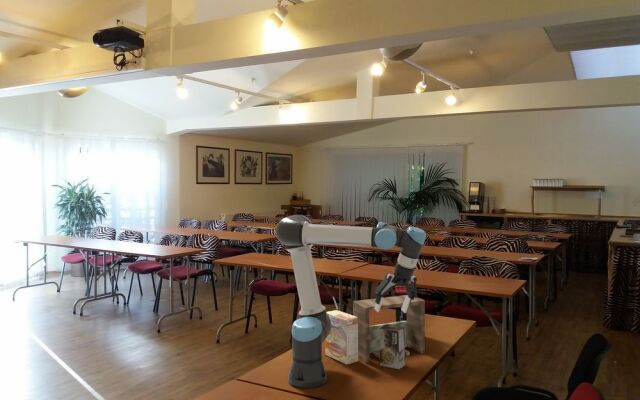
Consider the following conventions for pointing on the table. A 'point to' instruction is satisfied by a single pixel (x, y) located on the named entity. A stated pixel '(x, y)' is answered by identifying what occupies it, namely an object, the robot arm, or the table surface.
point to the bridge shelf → (370, 334)
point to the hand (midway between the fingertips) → (390, 310)
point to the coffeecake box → (342, 337)
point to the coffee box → (392, 346)
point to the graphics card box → (399, 313)
